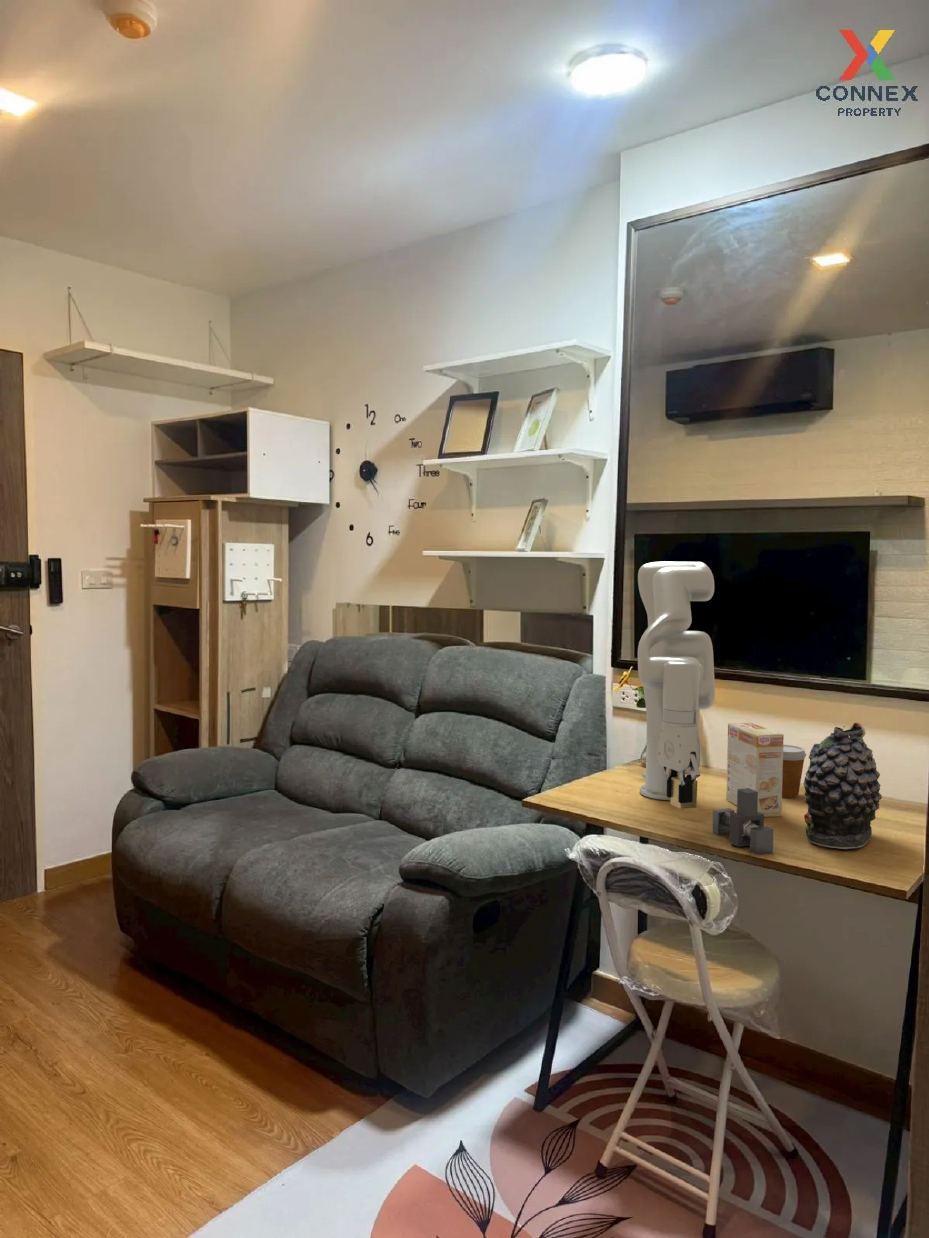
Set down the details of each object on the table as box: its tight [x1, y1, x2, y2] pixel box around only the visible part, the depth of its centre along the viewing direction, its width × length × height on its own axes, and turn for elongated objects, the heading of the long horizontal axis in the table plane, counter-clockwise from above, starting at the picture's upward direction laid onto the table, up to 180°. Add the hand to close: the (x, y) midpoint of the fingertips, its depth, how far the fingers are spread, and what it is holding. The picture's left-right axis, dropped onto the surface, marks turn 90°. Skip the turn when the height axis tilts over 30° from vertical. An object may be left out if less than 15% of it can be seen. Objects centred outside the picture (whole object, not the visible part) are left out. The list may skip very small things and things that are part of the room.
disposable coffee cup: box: [782, 744, 807, 799], centre depth 211 cm, size 10×10×12 cm
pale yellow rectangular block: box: [670, 775, 699, 810], centre depth 182 cm, size 4×4×6 cm
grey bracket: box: [729, 788, 765, 848], centre depth 174 cm, size 3×6×11 cm, turn 108°
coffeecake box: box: [725, 722, 785, 818], centre depth 200 cm, size 15×7×20 cm, turn 8°
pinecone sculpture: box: [803, 722, 883, 850], centre depth 177 cm, size 21×15×25 cm
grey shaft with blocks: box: [712, 807, 774, 856], centre depth 176 cm, size 15×4×5 cm, turn 18°
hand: (679, 798), depth 182 cm, fingers closed on pale yellow rectangular block, 4 cm apart
